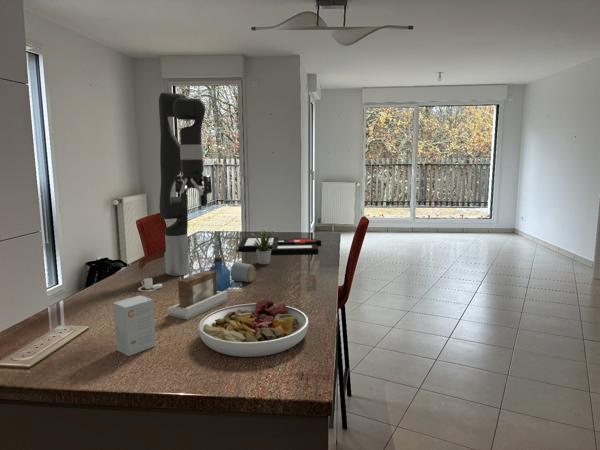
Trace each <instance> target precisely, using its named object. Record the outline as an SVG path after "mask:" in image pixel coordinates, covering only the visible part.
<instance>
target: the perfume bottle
mask: <svg viewBox="0 0 600 450" xmlns="http://www.w3.org/2000/svg"><path fill="white" fill-rule="evenodd" d="M223 263H224V260H223V256H216V257H213V264H214V265H212V266H210V269H209V270H208V271H215V272H216V285H217V291H220V292H223V291H227V289H229V288H231V270H230V269H229V268H228V266H227V265H225V264H224V265H223Z"/></svg>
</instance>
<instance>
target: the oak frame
mask: <svg viewBox="0 0 600 450" xmlns="http://www.w3.org/2000/svg"><path fill="white" fill-rule="evenodd" d="M177 282H178V283H177V285H178V286H177V287H178V302H179V303H178V304H179V306H180V308H187V307H189V306H191V305H193V304H196V303H198V302H200V301H203V300H205V299H207V298H209V297H212V296H214V295H216V294H217V285H216V272H215V271H209V270H207V269H206V270H204V271H201V272H198V273H195V274H192V275H189V276H187V277H184V278H181V279H179V280H178V281H177Z"/></svg>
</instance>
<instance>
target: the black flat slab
mask: <svg viewBox="0 0 600 450" xmlns="http://www.w3.org/2000/svg"><path fill="white" fill-rule="evenodd" d="M256 237H257V238H258V240H259V242H260V243H261V236H256ZM272 237H273V236H271V237H269V238H270V239H271V238H272ZM266 238H267V237H266ZM254 240H255V241H256V242H257V243H258V244H259V242H258V241H257V239H256V238H255V237H254V236H253V237H251V236H250V237H249V236H247V237H243V238H242V240H241V241H240V243H239V245H238V246H237V247H238V249H237V250H238V251H237V252H256V250H257V249H258V247H259V246H258V247H257V246H255V245H253V244H255V241H254ZM275 241H277V242H275ZM268 242H269V243H270V242H274V243H270V244H272V245H270V246H269V245H268V247H267V249H271V256H272V255H318V254H319V246H320V247H321V246H322V240H321V239H315V238H312V239H311V238H310V237H308V238H305V237H304V238H302V237H301V238H299V237H298V238H296V237H295V238H293V239H292V238H291V239H280V237H279V236H274V237H273V238H272V239H271V240H269V241H268ZM269 243H268V244H269ZM256 245H257V244H256ZM259 245H260V244H259Z"/></svg>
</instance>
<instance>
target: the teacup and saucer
mask: <svg viewBox="0 0 600 450" xmlns="http://www.w3.org/2000/svg"><path fill="white" fill-rule="evenodd" d="M141 285H142V286H140V287H138V288H137V290H138V291H140V292H145V290H147V292H153V291H157V290H159V289H161V288H162V287H163V284H162V283H156V284H153V277H147V278H144V279H142V280H141ZM142 288H145V290H142Z"/></svg>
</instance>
